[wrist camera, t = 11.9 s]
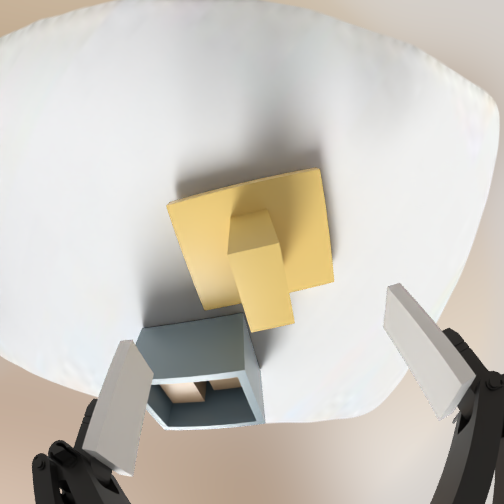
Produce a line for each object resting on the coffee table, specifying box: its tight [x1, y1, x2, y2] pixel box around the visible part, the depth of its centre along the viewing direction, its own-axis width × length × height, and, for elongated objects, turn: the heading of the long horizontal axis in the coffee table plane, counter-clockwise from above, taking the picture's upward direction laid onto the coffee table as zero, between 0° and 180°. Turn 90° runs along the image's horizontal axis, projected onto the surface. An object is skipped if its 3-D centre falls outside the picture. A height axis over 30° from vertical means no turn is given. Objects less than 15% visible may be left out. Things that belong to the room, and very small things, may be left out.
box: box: [136, 313, 265, 430], centre depth 27 cm, size 12×10×8 cm
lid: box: [167, 167, 334, 333], centre depth 21 cm, size 13×11×9 cm
